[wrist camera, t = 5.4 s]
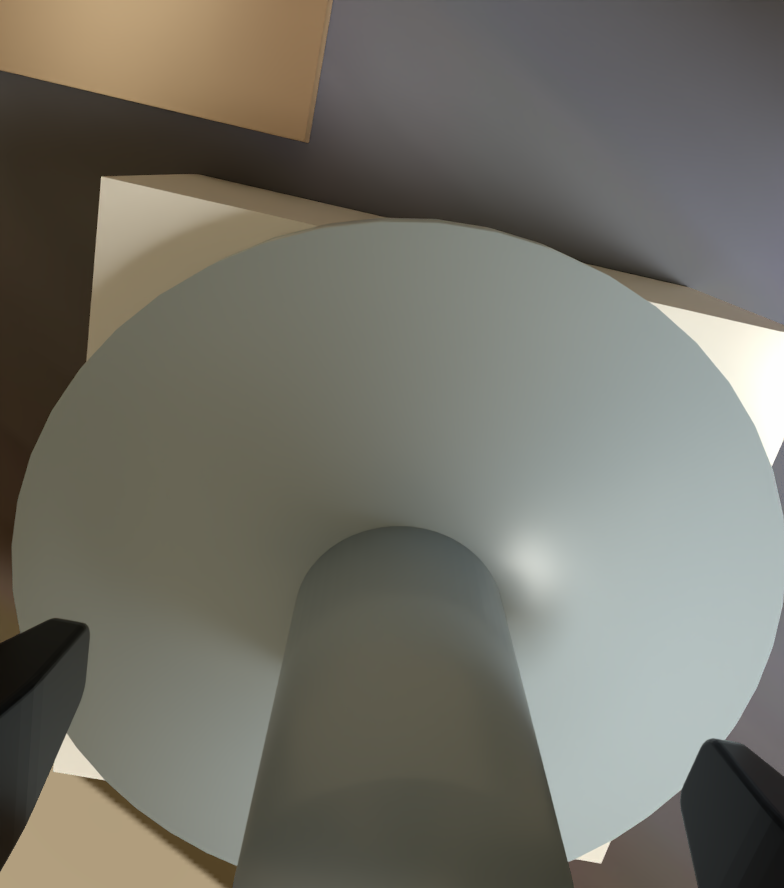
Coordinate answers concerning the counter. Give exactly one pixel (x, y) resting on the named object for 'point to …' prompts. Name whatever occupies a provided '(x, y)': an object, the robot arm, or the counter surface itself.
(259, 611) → the lid
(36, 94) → the counter surface
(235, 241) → the dish
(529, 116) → the counter surface
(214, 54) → the mat
